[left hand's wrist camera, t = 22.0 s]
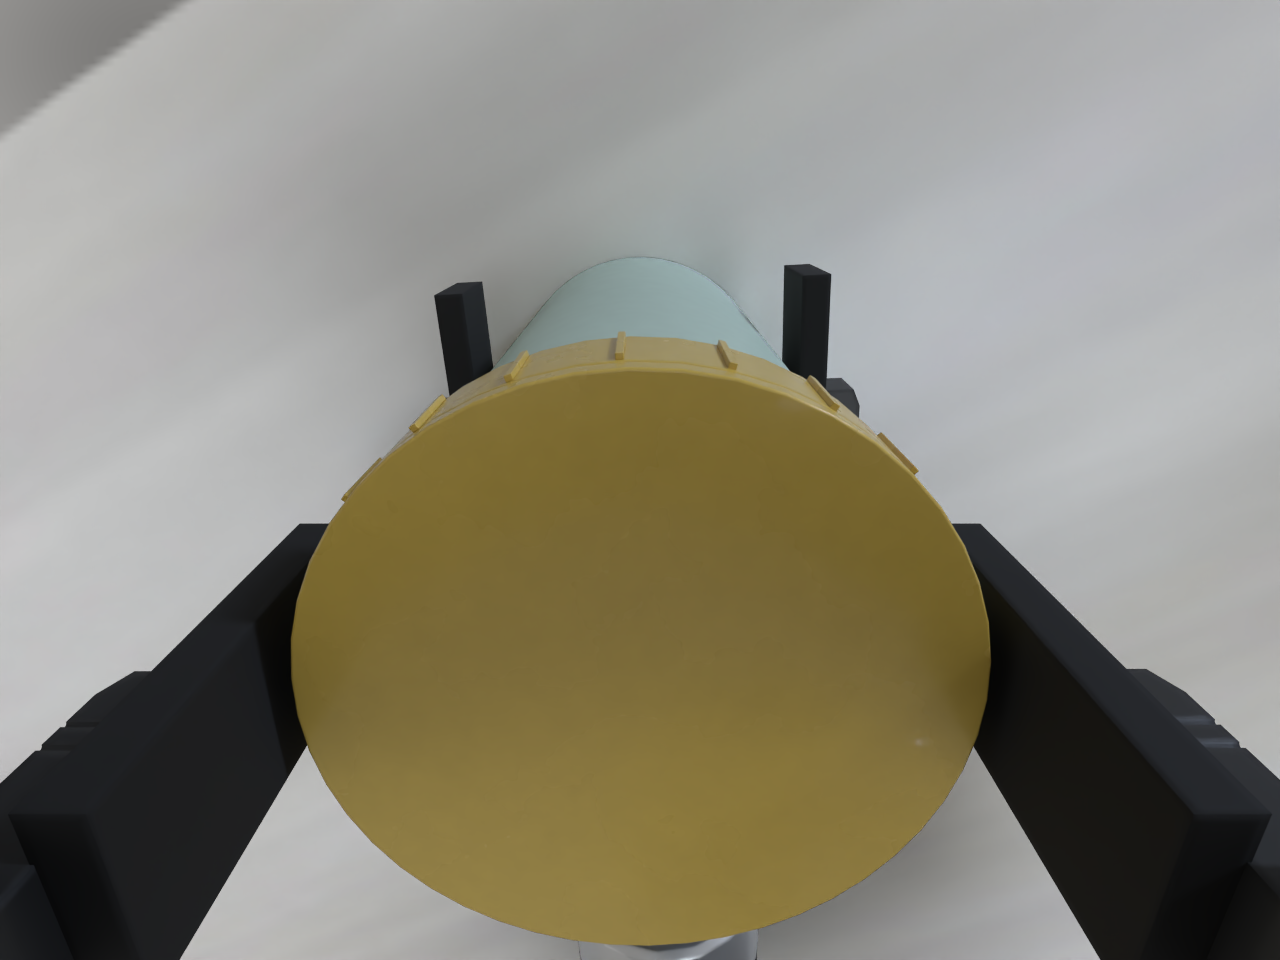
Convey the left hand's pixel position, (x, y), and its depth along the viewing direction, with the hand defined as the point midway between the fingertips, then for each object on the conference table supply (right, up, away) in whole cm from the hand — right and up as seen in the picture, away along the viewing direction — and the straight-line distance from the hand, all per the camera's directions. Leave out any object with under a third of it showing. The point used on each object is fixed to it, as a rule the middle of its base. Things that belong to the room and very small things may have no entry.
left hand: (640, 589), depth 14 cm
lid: (0, -1, -3) cm, 3 cm away
